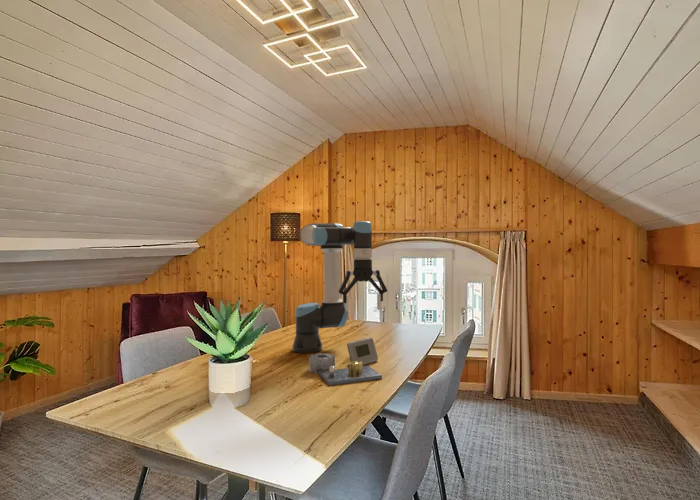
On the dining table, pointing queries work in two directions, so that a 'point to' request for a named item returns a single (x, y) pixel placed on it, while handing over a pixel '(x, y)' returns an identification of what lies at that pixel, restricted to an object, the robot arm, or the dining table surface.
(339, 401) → the dining table surface
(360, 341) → the digital clock
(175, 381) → the dining table surface
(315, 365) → the planet gear
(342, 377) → the carrier
